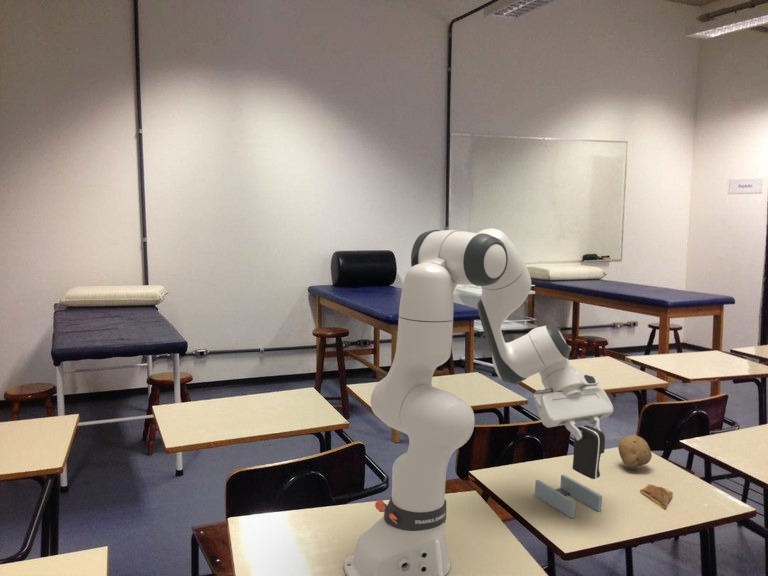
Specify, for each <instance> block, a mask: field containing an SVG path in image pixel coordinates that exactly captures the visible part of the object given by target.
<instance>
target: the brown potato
mask: <svg viewBox="0 0 768 576" xmlns="http://www.w3.org/2000/svg"><path fill="white" fill-rule="evenodd" d="M617 447H618V448H617V449H618V453H619V457H620V459H621V461H622V462H623V464H624V465H625V466H626V467H627V468H628V469H630V470H635V469H637V468H639V467H641V466H645V465H648V464H649V463H650V461H651V459H652V457H653V455H652V451H651V448H650V446H649V444H648V442H647V441H646V439H644V438H643V437H641V436H638V435H635V434H630V435H626V436H625V437H623V438H622V439H621V440H620V441H619V442H618V445H617Z"/></svg>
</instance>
